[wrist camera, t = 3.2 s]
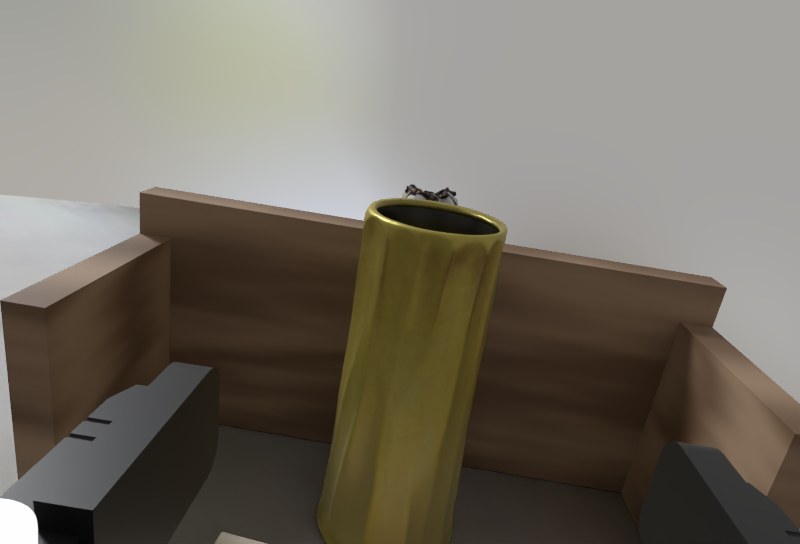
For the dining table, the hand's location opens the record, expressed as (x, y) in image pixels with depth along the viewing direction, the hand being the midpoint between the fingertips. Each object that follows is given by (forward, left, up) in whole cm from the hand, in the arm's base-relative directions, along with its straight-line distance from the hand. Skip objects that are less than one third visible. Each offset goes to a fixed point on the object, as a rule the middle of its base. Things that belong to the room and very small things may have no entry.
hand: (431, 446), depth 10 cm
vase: (+8, +8, -13) cm, 17 cm away
